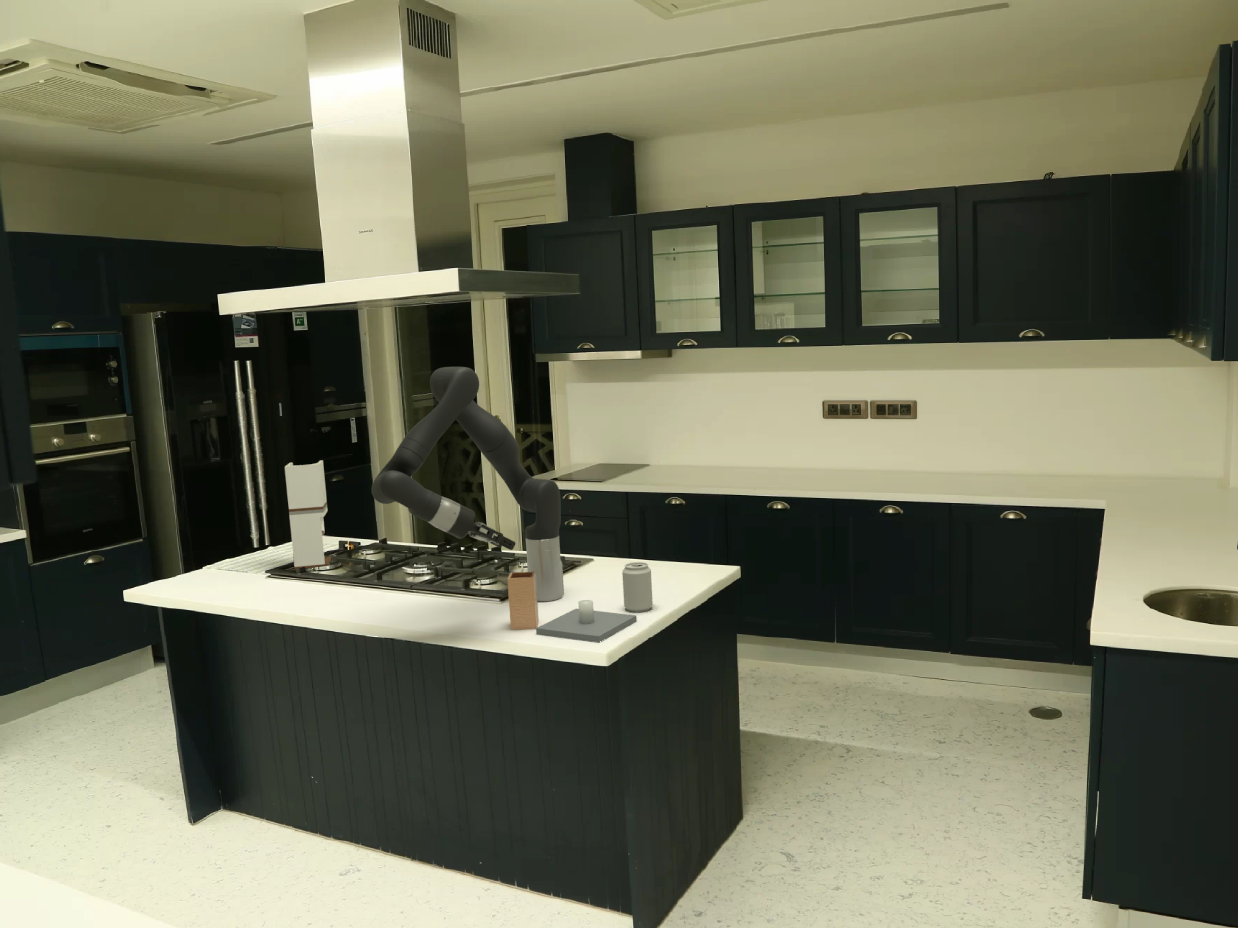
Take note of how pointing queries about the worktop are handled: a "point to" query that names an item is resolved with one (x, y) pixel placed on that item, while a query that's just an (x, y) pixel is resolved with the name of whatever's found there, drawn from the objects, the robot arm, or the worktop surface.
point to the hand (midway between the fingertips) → (507, 545)
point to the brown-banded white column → (307, 513)
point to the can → (637, 587)
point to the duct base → (586, 623)
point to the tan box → (523, 600)
